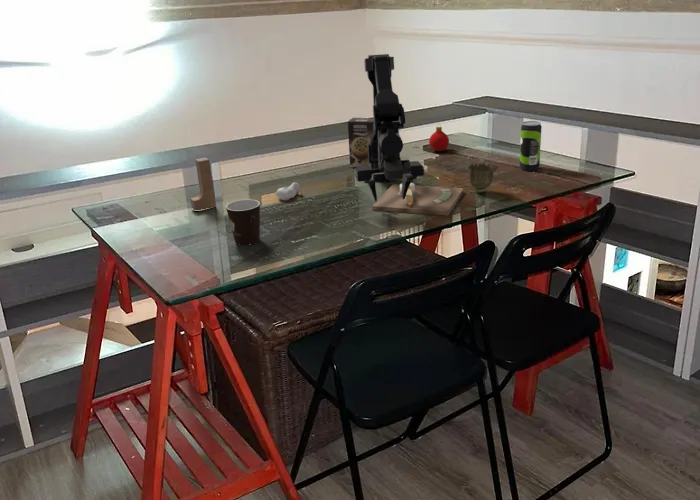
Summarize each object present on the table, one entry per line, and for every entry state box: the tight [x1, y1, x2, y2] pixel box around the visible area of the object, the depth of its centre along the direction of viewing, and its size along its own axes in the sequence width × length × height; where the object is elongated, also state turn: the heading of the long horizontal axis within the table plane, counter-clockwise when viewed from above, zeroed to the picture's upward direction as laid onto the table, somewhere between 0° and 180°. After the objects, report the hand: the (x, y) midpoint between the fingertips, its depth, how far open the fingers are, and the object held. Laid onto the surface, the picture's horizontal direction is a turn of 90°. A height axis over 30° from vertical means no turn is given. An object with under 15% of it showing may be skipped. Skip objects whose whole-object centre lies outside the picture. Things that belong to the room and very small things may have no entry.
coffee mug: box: [225, 198, 261, 246], centre depth 172 cm, size 12×9×10 cm
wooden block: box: [190, 157, 217, 210], centre depth 197 cm, size 7×3×15 cm, turn 121°
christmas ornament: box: [428, 123, 450, 152], centre depth 242 cm, size 7×7×10 cm
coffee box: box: [347, 117, 374, 169], centre depth 229 cm, size 9×6×16 cm
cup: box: [468, 162, 495, 194], centre depth 198 cm, size 8×7×8 cm
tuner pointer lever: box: [399, 182, 416, 206], centre depth 193 cm, size 14×4×3 cm, turn 179°
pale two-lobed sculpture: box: [276, 182, 302, 201], centre depth 205 cm, size 4×8×5 cm
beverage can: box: [519, 120, 542, 172], centre depth 215 cm, size 6×6×15 cm
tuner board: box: [371, 184, 464, 216], centre depth 195 cm, size 22×20×1 cm
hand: (389, 200), depth 190 cm, fingers open, 8 cm apart
